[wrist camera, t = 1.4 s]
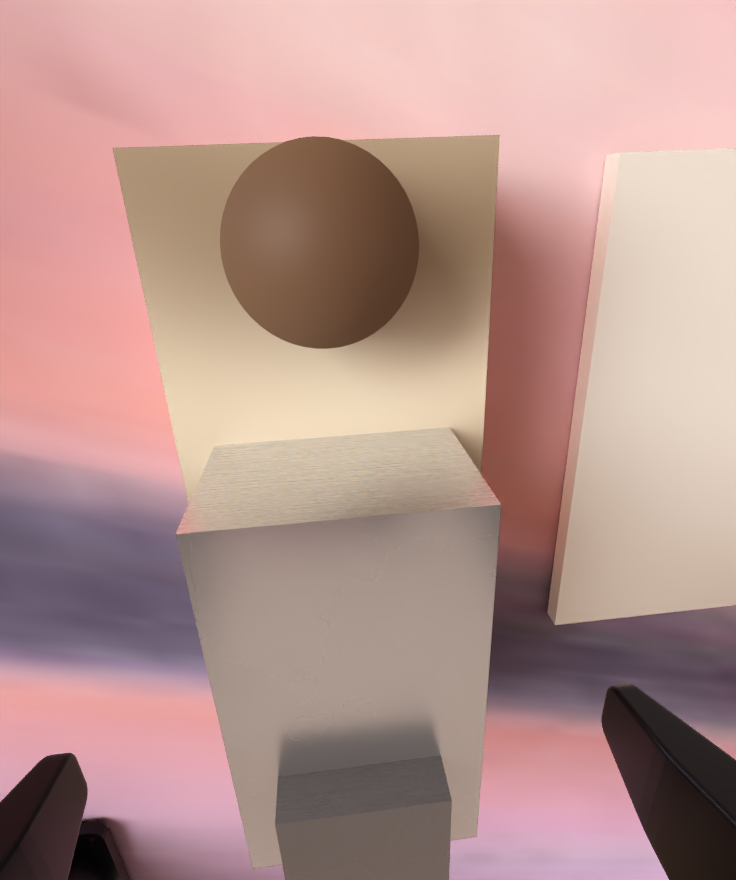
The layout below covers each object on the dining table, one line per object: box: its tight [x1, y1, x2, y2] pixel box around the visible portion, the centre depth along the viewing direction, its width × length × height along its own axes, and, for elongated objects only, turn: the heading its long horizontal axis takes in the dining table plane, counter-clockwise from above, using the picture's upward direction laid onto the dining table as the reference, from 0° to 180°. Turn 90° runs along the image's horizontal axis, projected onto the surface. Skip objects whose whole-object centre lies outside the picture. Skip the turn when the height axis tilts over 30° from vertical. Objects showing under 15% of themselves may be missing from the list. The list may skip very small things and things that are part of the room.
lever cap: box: [176, 427, 501, 880], centre depth 10 cm, size 8×5×4 cm, turn 2°
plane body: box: [113, 135, 500, 504], centre depth 12 cm, size 15×6×6 cm, turn 2°
